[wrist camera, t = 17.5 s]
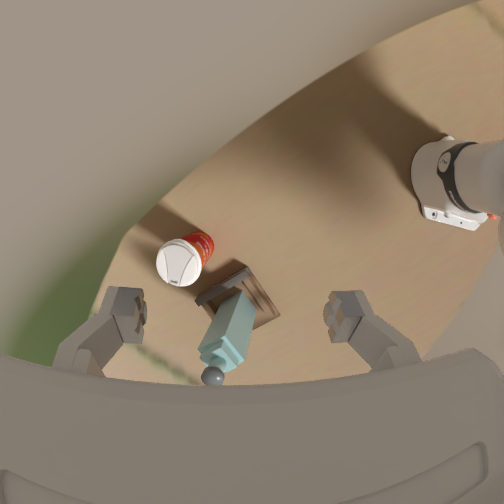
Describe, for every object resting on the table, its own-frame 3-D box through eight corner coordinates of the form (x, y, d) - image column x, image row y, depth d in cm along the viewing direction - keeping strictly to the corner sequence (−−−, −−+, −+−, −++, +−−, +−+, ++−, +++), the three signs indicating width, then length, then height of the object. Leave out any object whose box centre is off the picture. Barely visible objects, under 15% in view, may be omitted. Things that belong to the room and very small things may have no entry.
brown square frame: (280, 314, 58) (280, 321, 55) (232, 339, 61) (229, 347, 58) (247, 265, 56) (245, 270, 53) (198, 295, 59) (194, 300, 56)
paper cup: (215, 268, 57) (195, 294, 44) (180, 259, 58) (151, 282, 44) (222, 230, 55) (202, 246, 42) (185, 222, 56) (156, 235, 42)
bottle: (256, 310, 58) (238, 386, 35) (235, 321, 59) (209, 397, 36) (242, 290, 57) (215, 358, 34) (221, 302, 58) (185, 372, 35)
